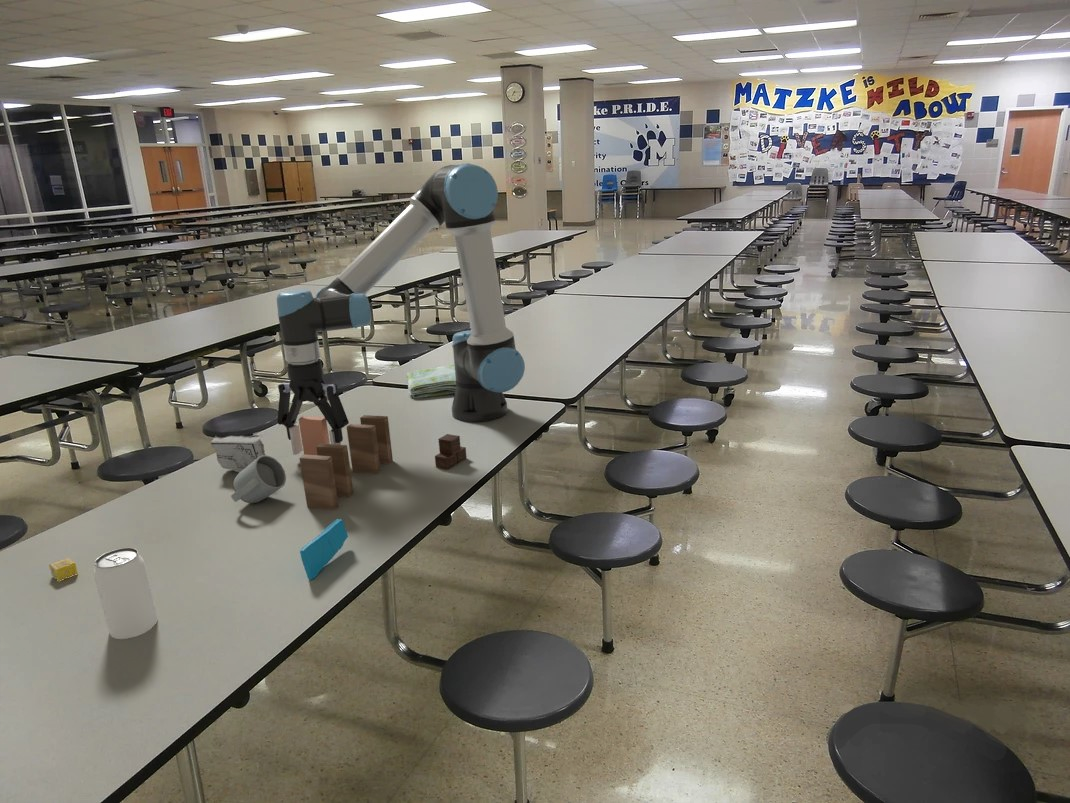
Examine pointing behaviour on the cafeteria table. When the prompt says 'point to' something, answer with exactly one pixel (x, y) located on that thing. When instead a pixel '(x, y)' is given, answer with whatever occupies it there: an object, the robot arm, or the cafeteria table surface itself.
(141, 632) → the can
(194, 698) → the cafeteria table surface
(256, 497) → the ceramic mug
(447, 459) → the stack of crates
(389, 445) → the domino
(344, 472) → the domino
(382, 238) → the robot arm
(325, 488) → the domino
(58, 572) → the small yellow block
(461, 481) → the cafeteria table surface
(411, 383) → the towel
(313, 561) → the sponge
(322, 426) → the domino
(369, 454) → the domino
